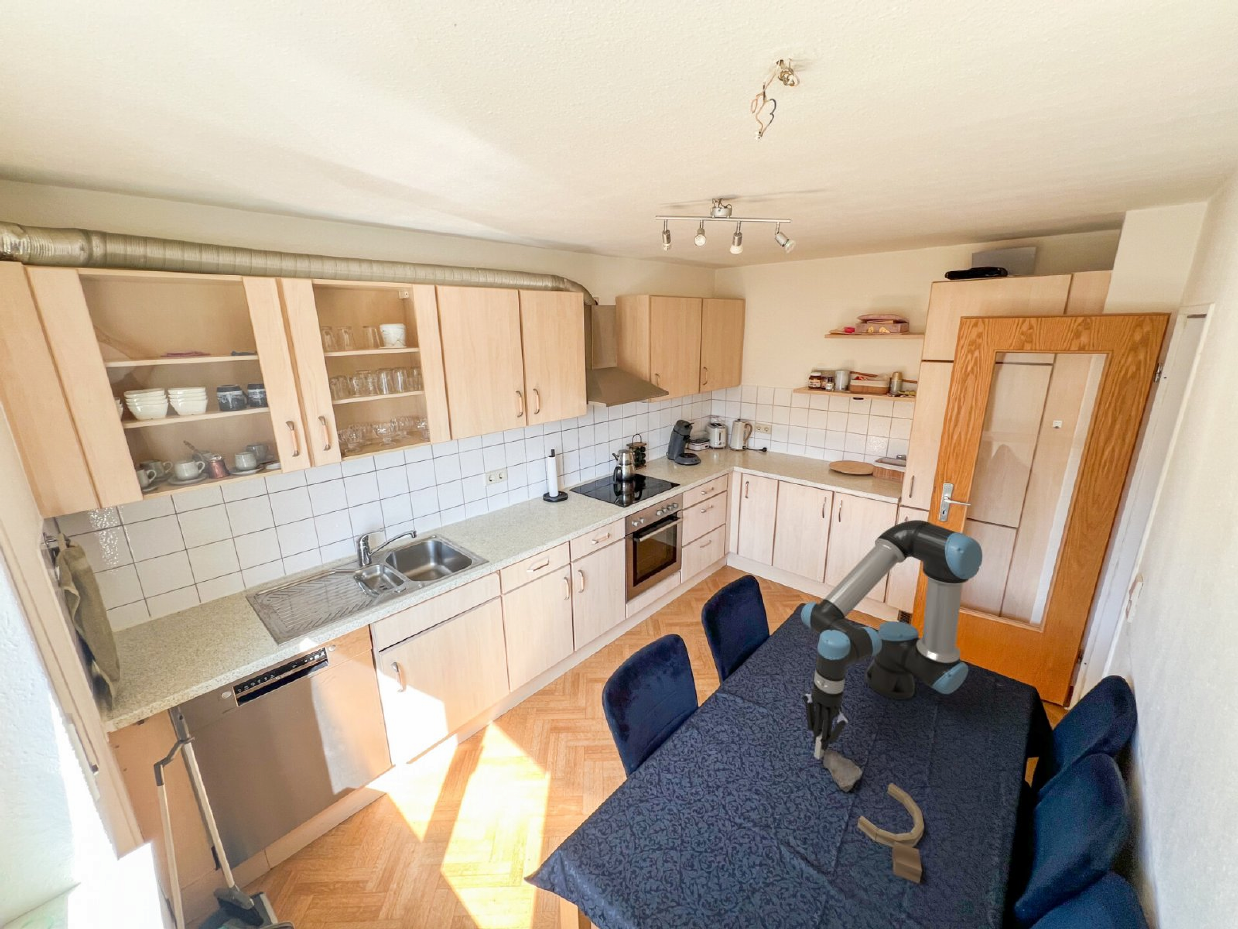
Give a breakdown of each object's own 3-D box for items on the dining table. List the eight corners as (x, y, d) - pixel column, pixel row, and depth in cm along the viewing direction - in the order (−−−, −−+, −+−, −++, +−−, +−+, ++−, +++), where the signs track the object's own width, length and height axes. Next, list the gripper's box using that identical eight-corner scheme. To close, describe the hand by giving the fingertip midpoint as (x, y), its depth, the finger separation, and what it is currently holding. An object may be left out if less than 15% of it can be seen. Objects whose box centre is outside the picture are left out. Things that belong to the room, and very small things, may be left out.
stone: (846, 798, 129) (848, 780, 128) (814, 771, 137) (815, 754, 136) (863, 783, 134) (866, 765, 132) (831, 758, 142) (833, 741, 140)
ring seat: (890, 790, 132) (891, 782, 131) (933, 820, 123) (935, 813, 123) (857, 826, 122) (858, 819, 121) (902, 862, 114) (903, 854, 113)
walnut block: (891, 854, 116) (894, 841, 115) (915, 862, 114) (918, 850, 113) (893, 874, 111) (896, 861, 110) (919, 884, 109) (921, 871, 108)
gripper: (799, 678, 135) (791, 746, 141) (843, 706, 125) (833, 778, 131) (814, 667, 139) (806, 734, 146) (859, 693, 129) (848, 764, 135)
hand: (819, 755), depth 138 cm, fingers closed
